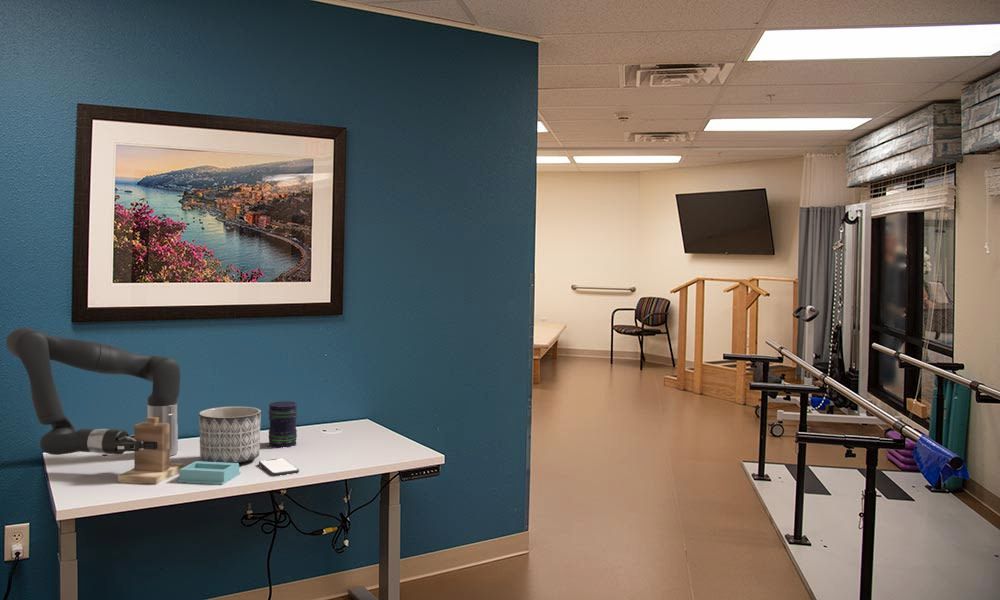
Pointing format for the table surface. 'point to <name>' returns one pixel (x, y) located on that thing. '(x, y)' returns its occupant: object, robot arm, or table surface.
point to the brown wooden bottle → (149, 457)
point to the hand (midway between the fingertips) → (160, 444)
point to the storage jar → (282, 424)
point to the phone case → (278, 467)
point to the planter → (229, 434)
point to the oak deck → (149, 475)
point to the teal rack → (208, 472)
